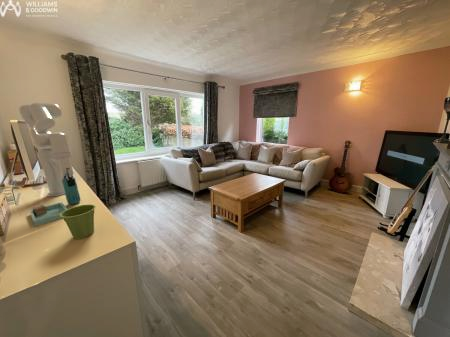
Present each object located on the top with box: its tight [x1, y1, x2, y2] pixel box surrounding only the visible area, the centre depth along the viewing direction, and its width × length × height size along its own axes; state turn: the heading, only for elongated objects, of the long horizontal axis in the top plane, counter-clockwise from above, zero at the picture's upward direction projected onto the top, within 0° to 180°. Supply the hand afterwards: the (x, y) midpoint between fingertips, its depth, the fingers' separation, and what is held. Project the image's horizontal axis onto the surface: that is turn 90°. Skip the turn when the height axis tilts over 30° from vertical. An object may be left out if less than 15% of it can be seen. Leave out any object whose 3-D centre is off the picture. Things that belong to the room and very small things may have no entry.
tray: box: [29, 201, 68, 227], centre depth 99 cm, size 19×13×3 cm
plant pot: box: [60, 204, 97, 240], centre depth 80 cm, size 12×12×11 cm
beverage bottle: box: [62, 176, 81, 205], centre depth 111 cm, size 6×7×20 cm
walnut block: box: [32, 204, 47, 216], centre depth 100 cm, size 4×4×4 cm
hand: (70, 184), depth 110 cm, fingers open, 9 cm apart
